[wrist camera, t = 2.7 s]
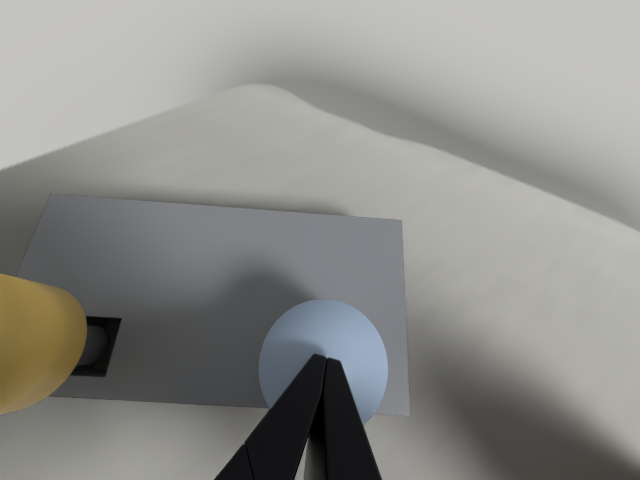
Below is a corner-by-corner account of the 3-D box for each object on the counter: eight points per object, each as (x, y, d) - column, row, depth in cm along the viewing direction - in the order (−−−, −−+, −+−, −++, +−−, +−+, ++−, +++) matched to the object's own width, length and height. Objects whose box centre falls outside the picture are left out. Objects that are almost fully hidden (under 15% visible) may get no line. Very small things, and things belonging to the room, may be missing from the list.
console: (382, 244, 19) (401, 219, 15) (385, 399, 16) (410, 416, 12) (101, 224, 19) (50, 193, 15) (48, 381, 16) (-34, 391, 12)
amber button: (156, 339, 13) (52, 334, 8) (77, 418, 12) (-113, 479, 6) (100, 281, 14) (-31, 239, 8) (20, 350, 13) (-193, 353, 7)
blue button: (372, 352, 15) (412, 355, 9) (321, 423, 14) (333, 474, 8) (312, 300, 15) (316, 274, 10) (258, 363, 14) (230, 373, 9)
